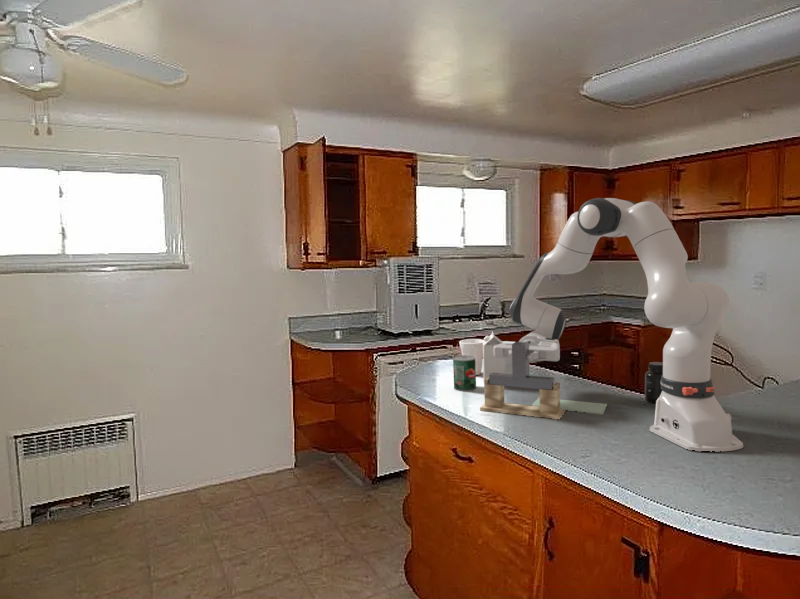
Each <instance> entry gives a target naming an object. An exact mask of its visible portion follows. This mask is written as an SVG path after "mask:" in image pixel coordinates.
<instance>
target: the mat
mask: <svg viewBox="0 0 800 599" xmlns="http://www.w3.org/2000/svg"><path fill="white" fill-rule="evenodd" d="M530 406H538V407H540V396H539V397H537V399H536V400H534V401H533V403H532V404H530ZM607 407H608V404H607V403H599V402H589V401H579V400H578V401H577V400H572V399H571V400H570V399H569V400H568V399H561V398H560V409H565V411H566V410H568V411H567V412H575V411H577V413H584V412H585V414H595V415H603V414H604V413H605V411H606V408H607Z"/></svg>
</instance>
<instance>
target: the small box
mask: <svg viewBox="0 0 800 599" xmlns="http://www.w3.org/2000/svg"><path fill="white" fill-rule="evenodd" d="M501 341H502V340H501ZM502 342H503V343H515V342H516V341H509V340H505V341H502ZM504 369H505V374H513V370H512V359H509V358H504Z"/></svg>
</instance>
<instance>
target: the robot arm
mask: <svg viewBox="0 0 800 599" xmlns="http://www.w3.org/2000/svg"><path fill="white" fill-rule="evenodd" d="M603 237H607V238H620V237H622V238H625V237H627V238H628V240H629V241H630V243H631V245H632V248H633V250H634V252H635V254H636V256H637V258H638V260H639V264H640V265H641V266H642V269H643V271H644V274H645V278H646V282H647V291H648V292H647V296H646V298H645V301H644V306H643V308H644V313H645V316H646V318H647V320H648V321H649V322H650V323H651V324H652V325H654V326H655V327H656V326H657V327H660V328H666V329H672V332H671V333H670V334H671V335H670V337H669V338H668V340H667V341H666V342H665V344H664V346H663V348H662V363H663V375H662V376H661V381H660V383H661V390H662V393H661V395H660V397H659V398H658V399H657V401H656V404H655V408H654V409H655V412H654V423H653V424H652V425H651V426H649V431H650V432H651V433H653V434H655V435H657V436H659V437H661V438H662V439H665V440H667V441H669V442H671V443H673V444H675V445H678V446H679V447H682V448H683V449H685V450H687V449H688V450H687V451H692V450H695V451H694V452H701V451H710V452H709V453H713V452H712V451H715V452H716V453H718V452H720V451H721V452H732V451H737V450H741V449H743V448H744V442H743V441H741V440H740V439H739V438H738V437H737V436H735V434H733V427H732V416H731V414H730V413H726V412H725V410H724V409H723V407H722V406H721V404H720V402H719V401H718V400H717V398H716V396H715V395H716V394H715V392H716V390H715V389H716V386H715V385H714V383H713V380H712V378H711V367H712V366H711V362H712V349H713V343H714V340H715V336H716V334H717V329H718V326H719V323H720V321H721V319H722V317H723V315H724V314H725V313H726V312H727V310H728V309H729V304H730V299H729V295H728V293H727V291H726V290H725V288H724V287H722V286H720V284H716V283H713V282H708V281H695V282H690V280H689V278H688V275H687V270H686V264H687V262H688V258H689V256H688V253H687V251H686V249H685V247H684V245H683V242H682V241H681V240H680V238H679V235H678V234H677V232H676V230H675V227H674V226H673V224H672V223H671V221H670V220H669V217H667V215H666V214H665V212H664V211H663V210H662V209H661V208H660V206H658V204H657V203H655V202H652V201H650V200H649V201H648V200H647V201H641V202H638V203H636V202H634V201H632V200H624V199H621V198H620V199H619V198H614V197H605V198H602V197H596V198H592V199H591V198H590V199H588V200H587V201H585V202H584V203H582V204H581V206H580V207H579V210H578V211H575V212H574V213H572V214H571V215H570V216H569V218H568V220H566V223H565V225H564V227H563V229H562V231H561V233H560V235H559V238H558V240H557V243H556V244H555V246H554V248H553V249H552V250H551V251H549V252H545V253H544V254H543V255H542V256H540V258H539V259H538V260H537V262H536V263H535V265H534V266H533V268H532V269H531V272H530V273H529V274H528V277H527V279H526V280H525V282H524V284H523V285H522V287H521V289H520V291H519V292H518V294H517V295H516V297H515V299H513V301H512V303H511V304H510V306H509V310H508V313H509V316H510V318H511V320H512V322H513V323H515V324H518V325H522V326H524V327H527V328H529V329H532V331H530V332H529V333H528V334H526V335H524V336H523V337H521V338H520V339H519V340H518V342H528V343H529V354H527V360H529V364H530V363H531V364H533V363H537V362H544V361H547V362H559V361H560V358H561V352H560V351H561V348H560V347H561V346H560V341H559V340H560V339H561V337H562V336H563V333H564V331H565V329H566V326H567V317H566V316H567V315H566V313H565V312H564V311H565V310H563V309H561V308H559V307H556V306H554V305H552V304H548V303H547V302H544V301H541V300H539V299H537V298H535V297H534V294H535V292H536V290H538V289H537V288H538V287H539V286H540V284H541V282H542V280H543V278H544V277H545V276H549V275H572V274H573V275H574V274H578V272H581V271H583V270H584V269H585V268H587V266H588V264H589V263H590V260H591V258H592V256H593V254H594V251H595V248H596V245H597V244H598V242H599V240H600V238H603ZM512 344H513V343H501V344H498V345H495V346H494V348H493V353H494V357H496V358H509V359H512ZM715 452H714V453H715Z"/></svg>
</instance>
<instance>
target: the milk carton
mask: <svg viewBox="0 0 800 599" xmlns="http://www.w3.org/2000/svg"><path fill="white" fill-rule="evenodd" d="M483 340H484V341H483V360H482V368H483V380H484V379H486V378H487V377H489V375H490V374H491V373H504V374H505V369H504V358H496V357H494V353H493V348H494V346H495V345H498V344H501V343H503V342H502V340H501V339H500V338H499V337H498V336H496V335H495V334H494V332H493V330H491V334H490V335H486V336H485V337H484V338H483Z"/></svg>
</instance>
